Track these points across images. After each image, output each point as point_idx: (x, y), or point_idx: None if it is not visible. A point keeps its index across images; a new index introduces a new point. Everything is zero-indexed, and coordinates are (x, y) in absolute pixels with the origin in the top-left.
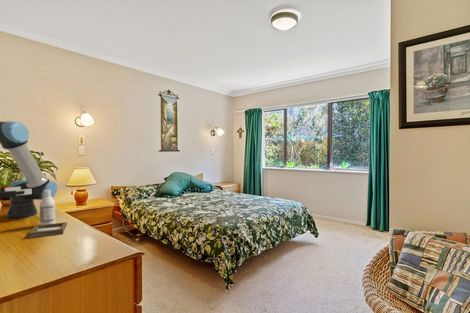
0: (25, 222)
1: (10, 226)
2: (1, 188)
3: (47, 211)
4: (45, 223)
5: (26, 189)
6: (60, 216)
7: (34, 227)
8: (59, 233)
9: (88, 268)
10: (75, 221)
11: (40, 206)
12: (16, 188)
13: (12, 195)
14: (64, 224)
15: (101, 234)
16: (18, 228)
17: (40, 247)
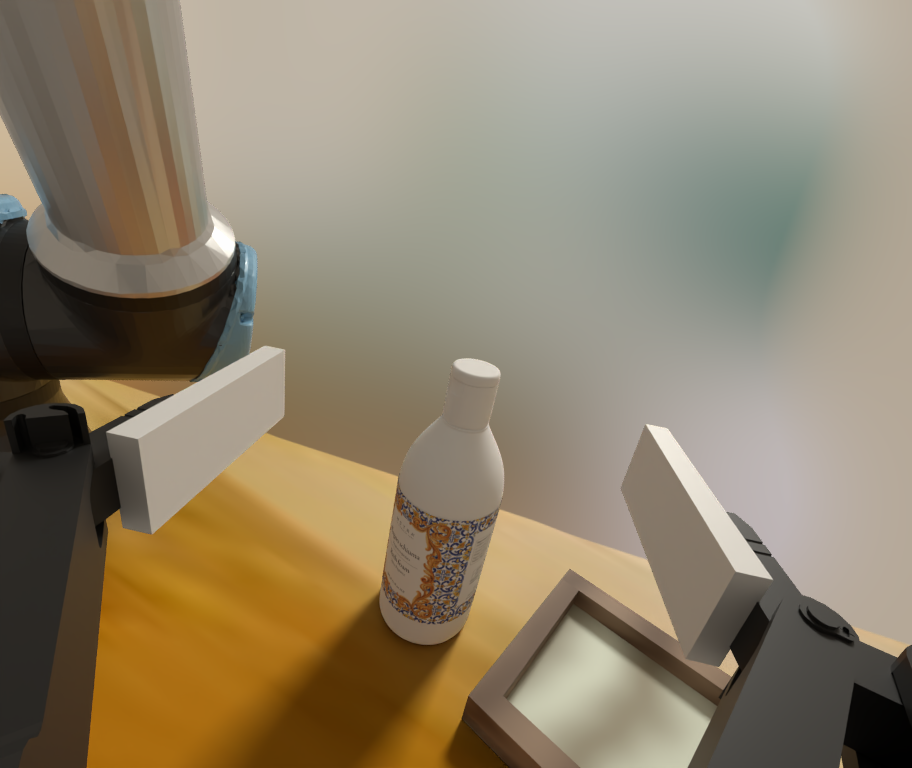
0: (170, 600)
1: (102, 726)
2: (24, 452)
3: (487, 542)
4: (459, 620)
5: (691, 466)
6: (318, 471)
7: (520, 742)
8: None
9: None
10: (500, 517)
11: (447, 520)
12: (257, 388)
13: (865, 764)
14: (619, 608)
15: (894, 645)
16: (256, 745)
17: None
